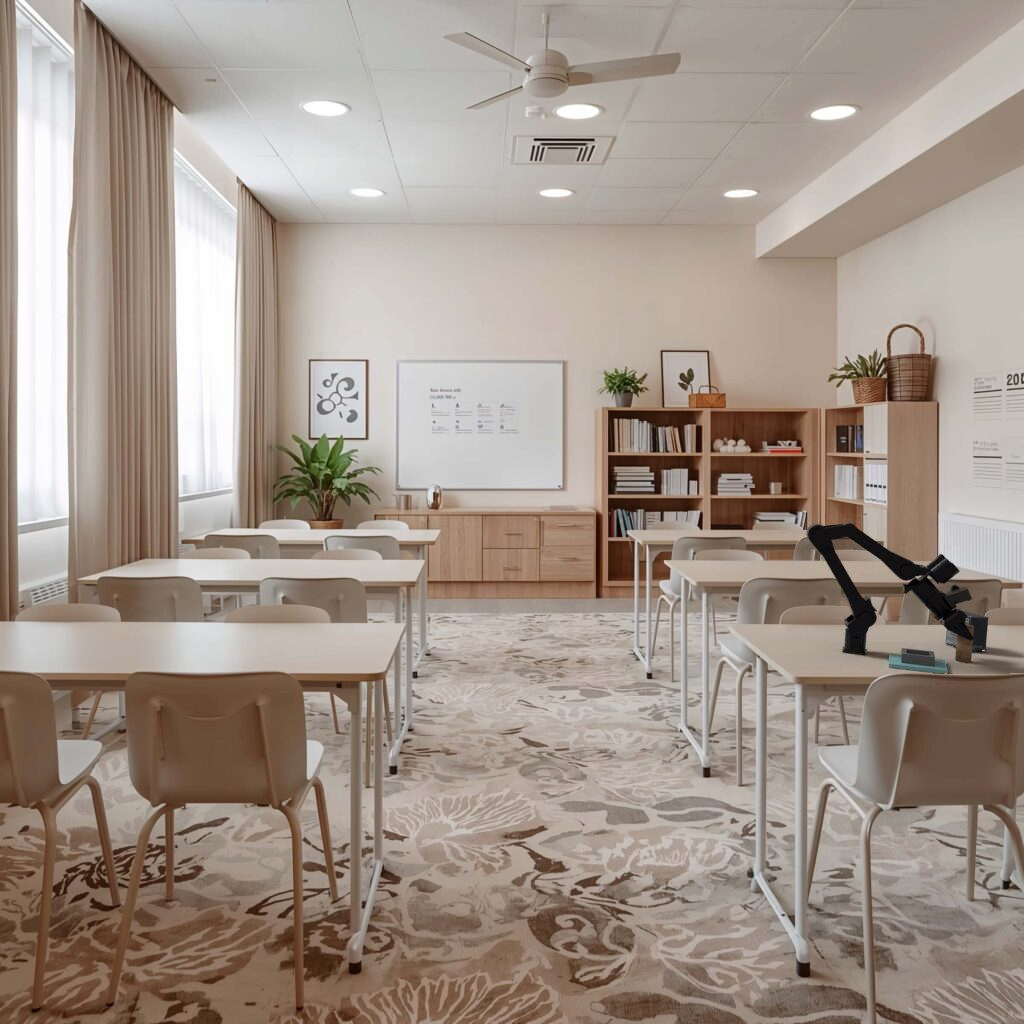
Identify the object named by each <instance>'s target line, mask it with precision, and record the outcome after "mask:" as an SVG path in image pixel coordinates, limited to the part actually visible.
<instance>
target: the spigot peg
mask: <svg viewBox="0 0 1024 1024" xmlns="http://www.w3.org/2000/svg"><path fill="white" fill-rule="evenodd" d="M966 626H967V628H968V629H969V631H970V632H971V634H972V636H973V631H974V626H972V625H967V624H966ZM972 645H973V640H972V641H970V640H968V639H966V638H964V637H962V636H960V635H958V634H957V641H956V648H955V658H954V660H956V661H955V662H958V661H959V662H958V663H963V662H971V663H972V658H973V657H972V656H973V655H972V654H973V652H972Z"/></svg>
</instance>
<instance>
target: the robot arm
mask: <svg viewBox="0 0 1024 1024" xmlns="http://www.w3.org/2000/svg"><path fill="white" fill-rule="evenodd" d="M806 537H807V539H808V541H809V542H810V543H811V544H812V546H813V547H814V548H815V550H816V551H818V552H819V554H820V555H821V556H822V557H823V559H824V561H825V562H826V564H827V566H828V568H829V569H830V571H831V573H832V575H833V576H834V578H835V580H836V582H837V584H838V585H839V587H840V588H841V590H842V593H843V594H844V596H845V597H846V600H847V602H848V606H849V608H850V609H849V610H850V613H851V614H850V615H849V616H847V617H846V618H845V619H844V620H843V622H844V625H845V627H846V628H845V629H844V630H845V632H844V644H843V645H844V646H842V650H841V651H842V653H849V654H857V655H865V654H866V655H867V654H868V649H867V635H868V631H869V629H870V627H872V626H874V625H875V624H876V622H877V619H878V616H877V613H876V612H878V610H877V608H876V607H875V606H874V605H873V604H872V600H871V598H870V597H869V596H868V595H867V594H866V595H865V596H862V595H861V593H860V591H859V590H858V589H857V586H856V585H855V584H854V582H853V580H852V578H851V576H850V574H849V573H848V571H847V569H846V568H845V565H844V564H843V563H842V561H841V559H840V558H839V556H838V554H837V552H836V550H835V547H834V543H833V540H838V539H839V540H840V539H843V538H849V539H850V540H851V541H853V542H854V543H856V544H857V545H859V546H860V547H861V548H863V549H864V550H866V551H867V552H868V553H870V554H871V555H873V556H874V557H876V558H877V559H878V560H880V561H881V562H882V563H883V564H884V565H885V566H886V567H887V568H888V569H889V570H890V571H891V572H892V573H893V574H894V575H895V576H896V578H898V579H900V580H902V581H906V582H907V581H909V582H907V583H905V582H903V583H902V584H901V585H902V590H901V592H902V593H903V594H905V595H908V593H909V592H911V593H912V594H913V595H914V596H915V597H916V598H917V599H918V600H919V601H920V602H921V603H922V605H924V607H926V609H928V610H929V612H930V615H931V616H932V617H933V618H934V619H935V620H936V621H937V622H938V621H939V624H941V626H943V627H944V628H945V629H946V631H947V630H948V631H952V632H954V633H956V634H958V635H960V636H962V637H964V638H966V639H968V640H970V641H972V640H973V639H974V637H973V636H972V634H971V632H970V631H969V629H968V628H967V626H966V624H965V619H966V618H967V617H968V616H967V615H966V614H965V613H964V612H963V611H964V610H962V609H961V608H957V607H958V604H960V603H964V602H968V601H971V600H972V601H973V597H972V595H971V592H970V590H969V588H968V587H966V586H958V585H957V584H953V585H950V588H949V591H947V592H943V591H942V590H940V589H939V588H938V587H937V586H936V585H939V584H942V585H945V584H946V583H947V582H949V581H950V580H951V579H952V578H954V577H955V576H956V575H957V574H959V573H960V569H959V568H958V567H957V566H956V564H954V562H952V561H950V560H949V559H948V558H947V557H946V556H945V555H944V554H942V553H939V554H938V555H937V556H936V557H935V559H933V560H932V561H931V562H929V563H928V564H927V565H924V564H918V563H915V562H913V561H912V560H911V559H909V558H906V557H904V556H903V555H901V554H898V553H896V552H894V551H892V550H890V549H888V548H886V547H885V546H884V545H882V544H881V543H880V542H878V541H876V539H873V538H872V537H871V536H869V535H868V534H866V533H865V532H864V531H862V530H861V529H859V528H858V527H857V526H856V525H855V523H852V522H845V523H839V524H828V525H823V524H821V523H812V524H810V525H809V526H808V527H807V529H806ZM917 577H918V578H917ZM929 578H930V579H929ZM931 580H932V581H933V582H935V584H936V585H935V584H934V583H933V582H932V581H931Z"/></svg>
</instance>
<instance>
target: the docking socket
mask: <svg viewBox="0 0 1024 1024" xmlns="http://www.w3.org/2000/svg"><path fill="white" fill-rule="evenodd" d="M900 650H901V652H900V654H897V653H889V654H888V668H889V667H894V668H893V669H897V668H901V669H900V670H906V669H909V670H908V671H916V672H924V673H931V672H935V673H934V674H940V673H949V671H948V667H947V663H946V660H945V659H943V658H936V656H935V652H934V651H931V650H923V649H916V648H915V649H914V648H907V647H906V648H905V647H901V649H900Z"/></svg>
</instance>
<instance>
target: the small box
mask: <svg viewBox="0 0 1024 1024" xmlns="http://www.w3.org/2000/svg"><path fill="white" fill-rule="evenodd" d="M962 611H963V612H964V613H965V614H966V615H967V616H968V617H967V618H966V619H965V624H967V625H972V626H974V631H973V637H974V639H973V645H972V651H982V650H986V651H987V639H988V627H989V617H988V616H984V615H981V614H977V613H973V612H970V611H966V610H965V611H964V610H962ZM956 641H957V634H956V633H954V632H952V631H948V630H947V629H946V633H945V642H944V644H945V643H946V644H948V645H951V646H953V647H952V648H954V647H956ZM948 645H947V646H948ZM951 646H950V647H951Z"/></svg>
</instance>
